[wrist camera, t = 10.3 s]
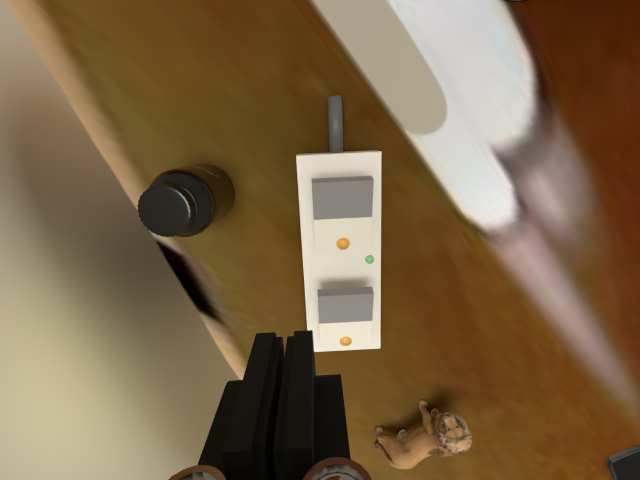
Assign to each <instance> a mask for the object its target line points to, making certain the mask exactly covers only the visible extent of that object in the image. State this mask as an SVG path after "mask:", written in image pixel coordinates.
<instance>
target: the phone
mask: <svg viewBox="0 0 640 480" xmlns="http://www.w3.org/2000/svg"><path fill="white" fill-rule="evenodd" d="M606 465H607V467H609V468H608V470H609V473H610V475H611V474H612V475H611V478H612V480H640V444H639V445H637V446H634V447H632V448H629V449H627V450H624V451H622V452H619V453H617V454H614V455H612V456H610V457H608V458H607V459H606Z"/></svg>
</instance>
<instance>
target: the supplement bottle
mask: <svg viewBox="0 0 640 480" xmlns="http://www.w3.org/2000/svg"><path fill="white" fill-rule="evenodd" d="M233 196H234V193H233V187H232V184H231V182H230V180H229V179H228V177H227V176H226V175H225V174H224V173H223V172H222V171H221V170H219V169H218V168H216V167H214V166H210V165H204V164H201V165H193V166H188V167H183V168H177V169H172V170H168V171H165V172H163V173H161V174H159V175H158V176H157V177H155V178H154V179H153V181H152V182H151V183H150V185H149V187H148V189H147V190H146V191H144V192H143V194H142V195H141V196H140V199H139V201H138V203H139V204H138V213H139V217H140V218H141V221H142V222H143V224H144V226H146V227H147V229H148V230H150V231H151V232H152V233H155V234H156V235H160V236H165V237H169V236H171V237H173V236H179V237H189V236H194V235H197V234H199V233H201V232H202V231H204V230H205V229H207V228H208V227H209V226H211V225H212V224H213V223H214V222H216V221H217V220H218V219H220V218H221V217H222V216H223V215H224V214H226V213H227V211H228V210H229V209H230V207H231V205H232V202H233Z"/></svg>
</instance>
